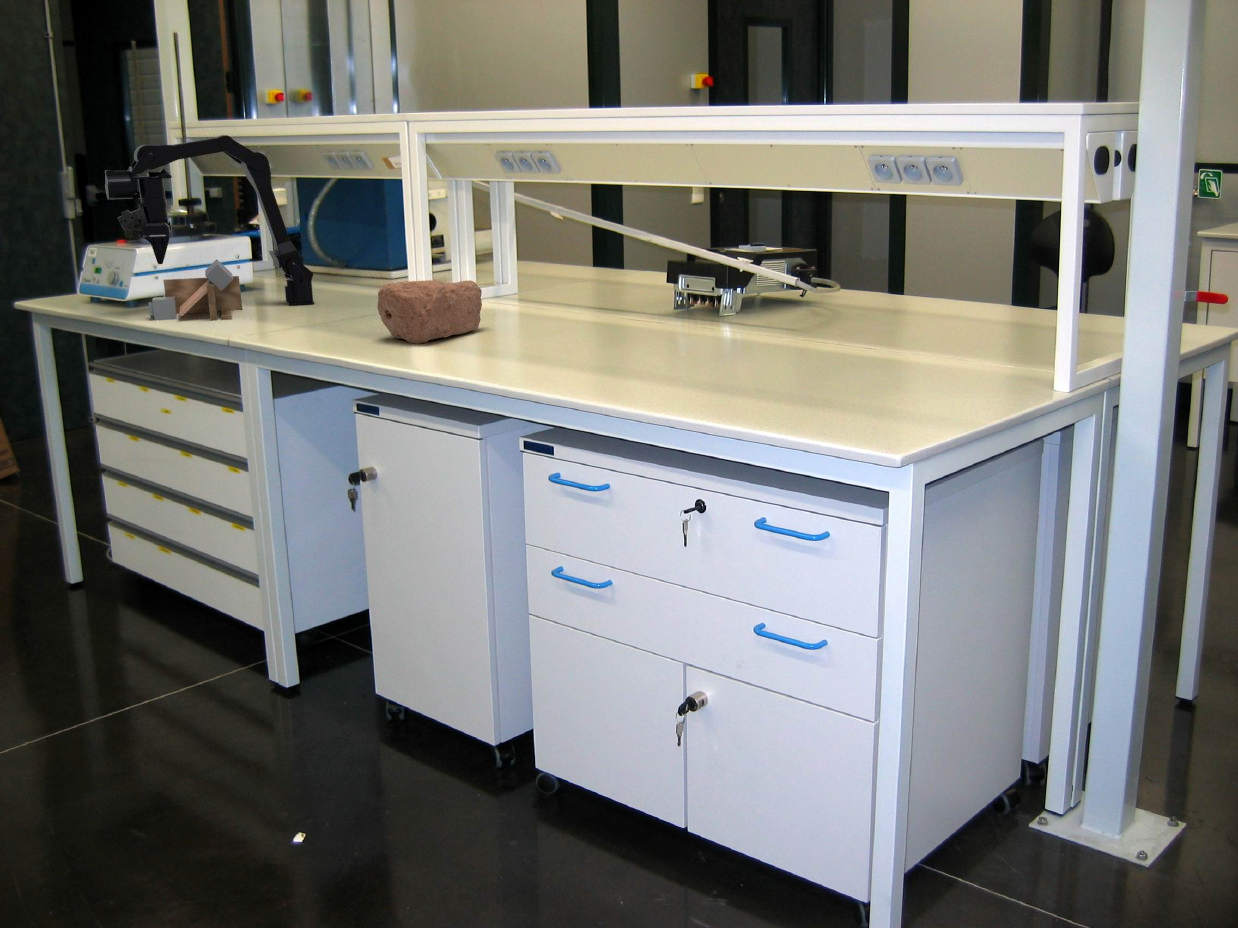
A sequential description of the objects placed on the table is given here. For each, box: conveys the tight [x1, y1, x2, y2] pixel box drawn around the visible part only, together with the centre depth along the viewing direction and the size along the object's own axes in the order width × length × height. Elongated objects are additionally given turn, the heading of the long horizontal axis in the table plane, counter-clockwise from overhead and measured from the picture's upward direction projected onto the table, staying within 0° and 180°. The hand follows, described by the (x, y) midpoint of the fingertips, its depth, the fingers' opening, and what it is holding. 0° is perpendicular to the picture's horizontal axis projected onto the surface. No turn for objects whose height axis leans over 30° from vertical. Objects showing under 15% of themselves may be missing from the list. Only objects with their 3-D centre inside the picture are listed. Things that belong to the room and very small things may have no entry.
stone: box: [377, 279, 483, 345], centre depth 248 cm, size 16×26×15 cm, turn 143°
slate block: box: [147, 296, 178, 322], centre depth 278 cm, size 5×5×6 cm
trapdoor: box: [178, 259, 233, 317], centre depth 280 cm, size 15×14×5 cm
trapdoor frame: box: [163, 275, 243, 321], centre depth 280 cm, size 18×17×8 cm
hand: (160, 262), depth 281 cm, fingers open, 9 cm apart
